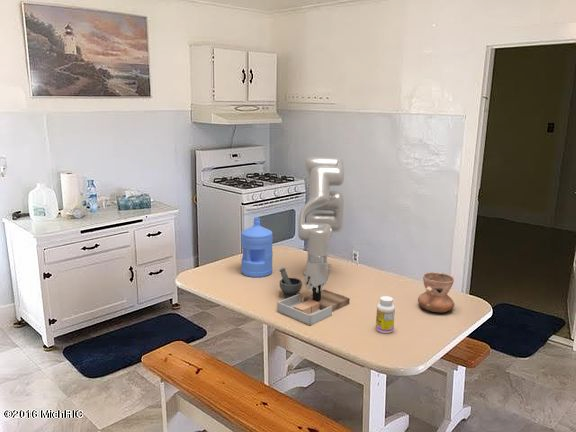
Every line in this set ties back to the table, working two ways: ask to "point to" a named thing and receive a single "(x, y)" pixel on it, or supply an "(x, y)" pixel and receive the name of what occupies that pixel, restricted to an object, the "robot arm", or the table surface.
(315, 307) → the tile
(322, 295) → the board
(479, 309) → the table surface
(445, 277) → the ceramic jug
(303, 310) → the tile
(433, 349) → the table surface
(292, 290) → the mortar and pestle
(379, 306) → the supplement bottle
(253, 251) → the water jug
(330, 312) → the tray
